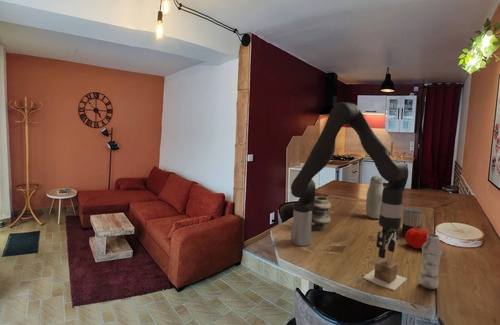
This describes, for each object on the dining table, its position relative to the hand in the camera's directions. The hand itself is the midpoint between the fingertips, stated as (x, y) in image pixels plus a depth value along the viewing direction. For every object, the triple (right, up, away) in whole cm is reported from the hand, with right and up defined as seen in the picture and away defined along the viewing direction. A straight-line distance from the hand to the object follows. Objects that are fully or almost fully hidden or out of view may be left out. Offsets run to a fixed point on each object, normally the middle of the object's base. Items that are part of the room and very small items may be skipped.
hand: (386, 254), depth 115 cm
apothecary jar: (-12, -3, +59) cm, 60 cm away
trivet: (0, -10, +1) cm, 10 cm away
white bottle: (+28, -1, +79) cm, 84 cm away
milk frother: (+33, -5, +53) cm, 62 cm away
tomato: (+31, -7, +34) cm, 46 cm away
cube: (0, -10, +1) cm, 10 cm away
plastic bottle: (+14, -11, -4) cm, 18 cm away
